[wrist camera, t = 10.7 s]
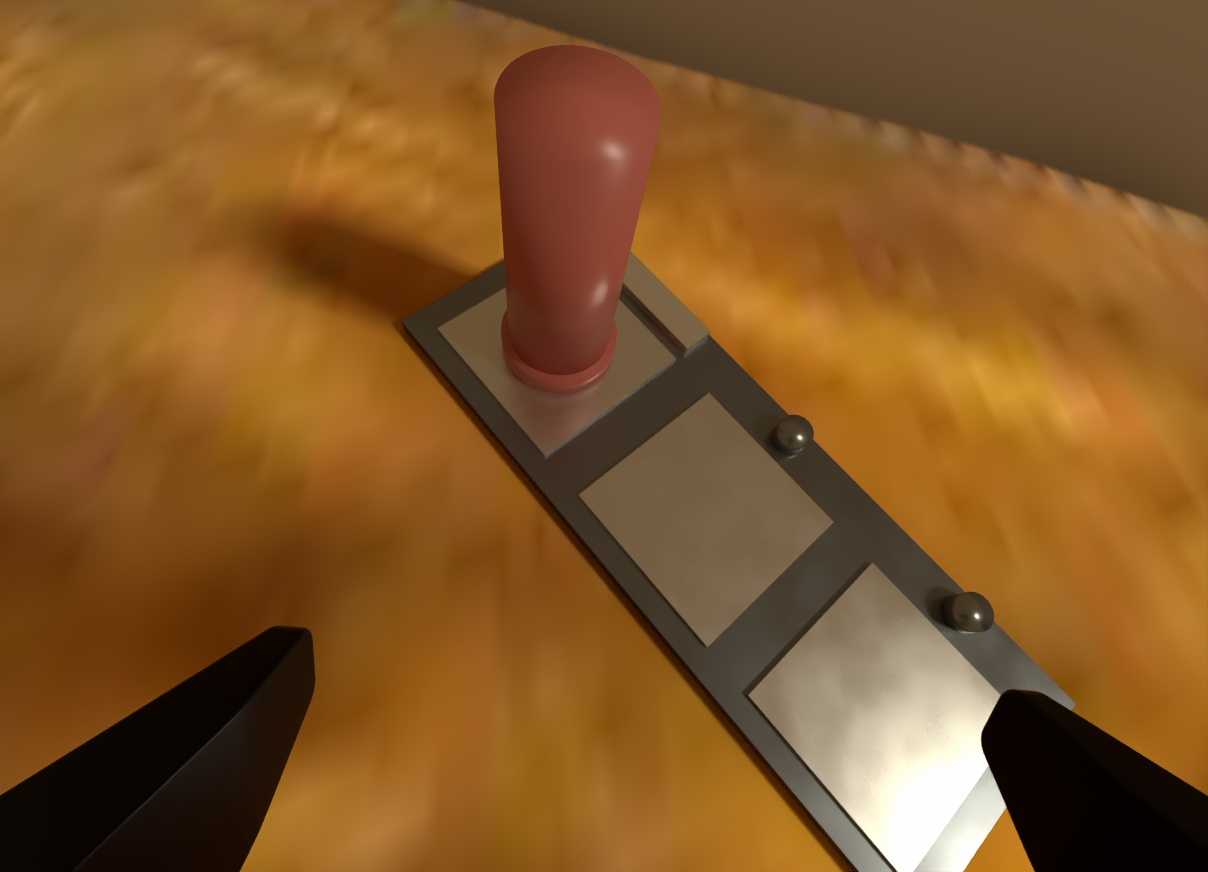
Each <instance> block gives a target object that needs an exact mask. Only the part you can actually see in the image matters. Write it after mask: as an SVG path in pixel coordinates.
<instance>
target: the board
mask: <svg viewBox="0 0 1208 872" xmlns="http://www.w3.org/2000/svg"><path fill="white" fill-rule="evenodd" d="M506 309H507V297H506V281H505V265H504V262H502V263H501V264H499V265H497V266H496V267H494V268H492V269H490V270H489V271H487V272H485V273H484V274H482V275H480V276H478V277H477V278H475V279H473V280H471V281H470V282H468V283H466V284H465V285H463V286H461V287H459V288H458V289H456V290H454V291H453V292H451V293H449V294H447V295H446V296H444V297H442V298H440V299H439V300H437V301H435V302H434V303H432V304H430V305H428V306H427V307H425V308H423V309H421V310H420V311H418V312H416V313H415V314H413V315H411V316H409V317H408V318H406V319H404V320H403V321H402V324H403V327H404V329H405V331H406V332H407V333H408V334H409V335H410V337H411V338H412V339H413V340H414V341H415V343H416V344H417V345H418V346H419V347H420V349H421V350H422V351H423V352H424V353H425V355H426V356H427V357H428V358H429V360H430V361H431V362H432V363H433V364H434V366H435V367H436V368H437V369H438V370H439V372H440V373H441V374H442V375H443V376H444V378H445V379H446V380H447V381H448V382H449V384H450V385H451V386H452V387H453V388H454V390H455V391H456V392H457V393H458V394H459V396H460V397H461V398H462V399H463V401H464V402H465V403H466V404H467V405H468V407H469V408H470V409H471V410H472V411H473V413H474V414H475V415H476V416H477V417H478V419H479V420H480V421H481V422H482V423H483V425H484V426H485V427H486V428H487V429H488V431H489V432H490V433H491V434H492V435H493V437H494V438H495V439H496V440H497V441H498V443H499V444H500V445H501V446H502V448H503V449H504V450H505V451H506V452H507V454H508V455H509V456H510V457H511V458H512V460H513V461H514V462H515V463H516V464H517V466H518V467H519V468H520V469H521V470H522V472H523V473H524V474H525V475H526V476H527V478H528V479H529V480H530V481H531V482H532V484H533V485H534V486H535V487H536V489H537V490H538V491H539V492H540V493H541V495H542V496H543V497H544V498H545V499H546V501H547V502H548V503H549V504H550V505H551V507H552V508H553V509H554V510H555V511H556V513H557V514H558V515H559V516H560V517H561V519H562V520H563V521H564V522H565V523H566V525H567V526H568V527H569V528H570V530H571V531H572V532H573V533H574V534H575V536H576V537H577V538H578V539H579V540H580V542H581V543H582V544H583V545H584V546H585V548H586V549H587V550H588V551H589V552H590V554H591V555H592V556H593V557H594V558H595V560H596V561H597V562H598V563H599V564H600V566H601V567H602V568H603V569H604V571H605V572H606V573H607V574H608V575H609V577H610V578H611V579H612V580H613V581H614V583H615V584H616V585H617V586H618V587H619V589H620V590H621V591H622V592H623V593H624V595H625V596H626V597H627V598H628V599H629V601H630V602H631V603H632V604H633V605H634V607H635V608H636V609H637V610H638V611H639V613H640V614H641V615H642V616H643V618H644V619H645V620H646V621H647V622H648V624H649V625H650V626H651V627H652V628H653V630H654V631H655V632H656V633H657V634H658V636H659V637H660V638H661V639H662V640H663V642H664V643H665V644H666V645H667V646H668V648H669V649H670V650H671V651H672V652H673V654H674V655H675V656H676V657H677V659H678V660H679V661H680V662H681V663H682V665H683V666H684V667H685V668H686V669H687V671H688V672H689V673H690V674H691V675H692V677H693V678H694V679H695V680H696V681H697V683H698V684H699V685H700V686H701V687H702V689H703V690H704V691H705V692H706V693H707V695H708V696H709V697H710V698H711V700H712V701H713V702H714V703H715V704H716V706H717V707H718V708H719V709H720V710H721V712H722V713H723V714H724V715H725V716H726V718H727V719H728V720H729V721H730V722H731V724H732V725H733V726H734V727H735V728H736V730H737V731H738V732H739V733H740V734H741V736H742V737H743V738H744V739H745V741H746V742H747V743H748V744H749V745H750V747H751V748H752V749H753V750H754V751H755V753H756V754H757V755H758V756H759V757H760V759H761V760H762V761H763V762H764V763H765V765H766V766H767V767H768V768H769V769H770V771H771V772H772V773H773V774H774V775H775V777H776V778H777V779H778V780H779V781H780V783H781V784H782V785H783V786H784V788H785V789H786V790H787V791H788V792H789V794H790V795H791V796H792V797H793V798H794V800H795V801H796V802H797V803H798V804H799V806H800V807H801V808H802V809H803V810H804V812H805V813H806V814H807V815H808V816H809V818H810V819H811V820H812V821H813V822H814V824H815V825H816V826H817V827H818V829H819V830H820V831H821V832H822V833H823V835H824V836H825V837H826V838H827V839H828V841H829V842H830V843H831V844H832V845H833V847H834V848H835V849H836V850H837V851H838V853H839V854H840V855H841V856H842V857H843V859H844V860H845V861H846V862H847V863H848V865H849V866H850V867H851V868H852V870H853V871H854V872H963V870H964V869H965V867H966V866H967V864H968V863H969V861H970V860H971V858H972V857H973V855H974V854H975V852H976V851H977V849H978V848H979V846H980V845H981V843H982V842H983V841H984V839H985V838H986V836H987V835H988V833H989V832H990V830H991V829H992V827H993V826H994V824H995V823H996V821H997V820H998V818H999V817H1000V815H1001V814H1002V812H1003V811H1004V809H1005V808H1006V805H1005V803H1004V800H1003V798H1002V796H1001V793H1000V791H999V789H998V786H997V784H996V782H995V779H994V777H993V775H992V772H991V770H990V768H989V765H988V763H987V761H986V759H985V756H984V754H983V751H982V747H981V732H982V730H983V728H984V726H985V724H986V722H987V720H988V718H989V716H990V714H991V712H992V710H993V709H994V707H995V705H996V703H997V701H998V699H999V697H1000V696H1001V694H1002V693H1003V692H1005V691H1006V690H1009V689H1019V690H1031V691H1037V692H1040V693H1043V694H1045V695H1047V696H1048V697H1050V698H1052V699H1053V700H1055V701H1056V702H1058V703H1060V704H1061V705H1063V706H1064V707H1066V708H1068V709H1069V710H1072V708H1073V707H1074V705H1075V703H1074V702H1073V701H1072V700H1071V699H1070V698H1069V697H1068V695H1067V694H1066V693H1065V692H1064V691H1063V690H1062V689H1061V688H1060V687H1059V686H1058V685H1057V684H1056V683H1055V682H1054V681H1053V680H1052V679H1051V678H1050V677H1049V676H1048V675H1047V674H1046V673H1045V672H1044V671H1043V670H1042V669H1041V668H1040V667H1039V666H1038V665H1037V664H1036V663H1035V662H1034V661H1033V660H1032V659H1031V658H1030V657H1029V656H1028V655H1027V654H1026V653H1025V652H1024V651H1023V650H1022V649H1021V648H1020V647H1019V646H1018V645H1017V644H1016V643H1015V642H1014V641H1013V640H1012V639H1011V638H1010V637H1009V636H1008V635H1007V634H1006V633H1005V632H1004V631H1003V630H1002V629H1001V628H1000V627H999V626H998V625H997V624H996V623H995V622H994V612H993V609H992V607H991V605H990V603H989V602H988V601H987V599H986V598H984V597H983V596H982V595H980V594H978V593H975V592H964V591H963V590H962V589H961V588H960V587H959V586H958V585H957V584H956V583H955V582H954V581H953V580H952V579H951V578H950V577H949V576H948V575H947V574H946V573H945V572H944V571H943V570H942V569H941V568H940V567H939V566H938V565H937V564H936V563H935V562H934V561H933V560H932V559H931V558H930V557H929V556H928V555H927V554H926V553H925V552H924V551H923V550H922V549H921V548H920V547H919V546H918V545H917V544H916V543H915V542H914V541H913V540H912V539H911V538H910V537H909V536H908V535H907V534H906V533H905V532H904V531H903V530H902V529H901V528H900V527H899V526H898V524H897V523H896V522H895V521H894V520H893V519H892V518H891V517H890V516H889V515H888V514H887V513H886V512H885V511H884V510H883V509H882V508H881V507H880V506H879V505H878V504H877V503H876V502H875V501H874V500H873V499H872V498H871V497H870V496H869V495H868V494H867V493H866V492H865V491H864V490H863V489H862V488H861V487H860V486H859V485H858V484H857V483H856V482H855V481H854V480H853V479H852V478H851V477H850V476H849V475H848V474H847V473H846V472H845V471H844V470H843V469H842V468H841V467H840V466H839V465H838V464H837V463H836V462H835V461H834V460H833V459H832V458H831V457H830V456H829V455H828V454H827V453H826V452H825V451H824V450H823V449H822V448H821V447H820V446H819V445H818V444H817V443H816V442H815V441H814V440H813V436H814V432H813V428H812V426H811V424H810V423H809V422H808V421H807V420H806V419H805V418H803V417H801V416H799V415H788V414H787V413H786V412H785V411H784V410H783V409H782V408H781V407H780V406H779V405H778V404H777V403H776V402H775V401H774V400H773V399H772V398H771V397H770V396H769V395H768V394H767V393H766V392H765V391H764V390H763V389H762V388H761V387H760V386H759V385H758V384H757V383H756V382H755V381H754V380H753V379H752V378H751V377H750V376H749V375H748V374H747V373H746V372H745V371H744V370H743V369H742V368H741V367H740V366H739V365H738V364H737V363H736V362H735V361H734V360H733V359H732V358H731V357H730V356H729V355H728V353H727V352H726V351H725V350H724V349H723V348H722V347H721V346H720V345H719V344H718V343H717V342H716V341H715V340H714V339H713V338H712V337H711V336H710V335H709V334H710V331H709V330H708V329H707V328H706V327H705V326H704V325H703V324H702V323H701V322H700V321H699V319H698V318H697V317H696V316H695V315H694V314H693V313H692V312H691V311H690V310H689V309H688V308H687V307H686V306H685V305H684V304H683V303H682V302H681V301H680V300H679V299H678V298H677V297H676V296H675V295H674V294H673V293H672V292H671V291H670V290H669V289H668V288H667V287H666V286H665V285H664V284H663V283H662V282H661V281H660V280H659V279H658V278H657V277H656V276H655V275H654V274H653V273H652V272H651V271H650V270H649V269H648V268H647V267H646V266H645V265H644V264H643V263H642V262H641V261H640V260H639V259H638V258H637V257H636V256H635V255H634V254H633V253H632V252H631V251H630V254H629V258H628V263H627V267H626V271H625V275H624V280H623V284H622V288H621V292H620V296H619V301H618V305H617V309H616V313H615V318H614V320H615V323H616V328H617V341H616V346H615V350H614V354H613V357H612V361H611V364H610V366H609V368H608V369H607V371H606V373H605V374H604V375H603V376H602V377H601V378H600V379H599V380H598V381H597V382H596V383H594V384H593V385H591V386H590V387H588V388H586V389H583V390H580V391H578V392H573V393H567V394H553V393H547V392H543V391H539V390H537V389H534V388H532V387H530V386H528V385H527V384H525V383H524V382H522V381H521V380H520V379H519V378H518V377H517V376H515V374H514V373H513V372H512V371H511V370H510V368H509V366H508V365H507V363H506V360H505V358H504V354H503V349H502V339H501V324H502V319H503V316H504V313H505V311H506Z"/></svg>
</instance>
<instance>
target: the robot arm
mask: <svg viewBox="0 0 1208 872" xmlns="http://www.w3.org/2000/svg"><path fill="white" fill-rule="evenodd" d="M314 687H315V668H314V653H313V639H312V634H311V632H310V631H309V630H308V629H306V628H302V627H290V626H274V627H271V628H269V629H267V630H265V631H264V632H262V633H261V634H259V635H257V636H256V637H254V638H253V639H251V640H249V641H248V642H246V643H245V644H243V645H241V646H240V647H238V648H237V649H235V650H233V651H232V652H230V653H228V654H227V655H225V656H224V657H222V658H220V659H219V660H217V661H216V662H214V663H212V664H211V665H209V666H208V667H206V668H204V669H203V670H201V671H200V672H198V673H196V674H195V675H193V676H192V677H190V678H188V679H187V680H185V681H183V682H182V683H180V684H179V685H177V686H175V687H174V688H172V689H171V690H169V691H167V692H166V693H164V694H163V695H161V696H159V697H158V698H156V699H155V700H153V701H151V702H150V703H148V704H146V705H145V706H143V707H142V708H140V709H138V710H137V711H135V712H134V713H132V714H130V715H129V716H127V717H126V718H124V719H122V720H121V721H119V722H118V723H116V724H114V725H113V726H111V727H109V728H108V729H106V730H105V731H103V732H101V733H100V734H98V735H97V736H95V737H93V738H92V739H90V740H89V741H87V742H85V743H84V744H82V745H81V746H79V747H77V748H76V749H74V750H73V751H71V752H69V753H68V754H66V755H64V756H63V757H61V758H60V759H58V760H56V761H55V762H53V763H52V764H50V765H48V766H47V767H45V768H44V769H42V770H40V771H39V772H37V773H36V774H34V775H32V776H31V777H29V778H27V779H26V780H24V781H23V782H21V783H19V784H18V785H16V786H15V787H13V788H11V789H10V790H8V791H7V792H5V793H3V794H2V795H0V872H240V870H241V868H242V866H243V864H244V862H245V860H246V858H247V856H248V854H249V852H250V850H251V847H252V845H253V843H254V841H255V839H256V837H257V835H258V833H259V831H260V828H261V826H262V823H263V821H264V818H265V816H266V814H267V811H268V809H269V806H270V804H271V801H272V799H273V796H274V794H275V791H276V788H277V786H278V783H279V781H280V778H281V776H282V773H283V771H284V768H285V765H286V763H287V760H288V758H289V755H290V753H291V750H292V748H293V745H294V743H295V740H296V737H297V735H298V732H299V730H300V727H301V725H302V722H303V720H304V717H305V714H306V712H307V709H308V707H309V704H310V702H311V699H312V696H313V692H314ZM981 747H982V751H983V754H984V756H985V759H986V761H987V763H988V765H989V768H990V770H991V772H992V775H993V777H994V779H995V782H996V784H997V786H998V789H999V791H1000V793H1001V796H1002V798H1003V800H1004V803H1005V805H1006V807H1007V810H1008V812H1009V814H1010V817H1011V819H1012V821H1013V823H1014V826H1015V828H1016V830H1017V833H1018V835H1019V837H1020V840H1021V842H1022V844H1023V847H1024V849H1025V851H1026V854H1027V856H1028V858H1029V860H1030V863H1031V865H1032V867H1033V869H1034V871H1035V872H1208V796H1207V795H1205V794H1204V793H1202V792H1200V791H1199V790H1197V789H1196V788H1194V787H1192V786H1191V785H1189V784H1188V783H1186V782H1184V781H1183V780H1181V779H1180V778H1178V777H1176V776H1175V775H1173V774H1172V773H1170V772H1168V771H1167V770H1165V769H1164V768H1162V767H1160V766H1159V765H1157V764H1156V763H1154V762H1152V761H1151V760H1149V759H1148V758H1146V757H1144V756H1143V755H1141V754H1140V753H1138V752H1136V751H1135V750H1133V749H1132V748H1130V747H1128V746H1127V745H1125V744H1124V743H1122V742H1120V741H1119V740H1117V739H1116V738H1114V737H1112V736H1111V735H1109V734H1108V733H1106V732H1104V731H1103V730H1101V729H1100V728H1098V727H1096V726H1095V725H1093V724H1092V723H1090V722H1088V721H1087V720H1085V719H1084V718H1082V717H1080V716H1079V715H1077V714H1076V713H1074V712H1072V711H1071V710H1069V709H1068V708H1066V707H1064V706H1063V705H1061V704H1060V703H1058V702H1056V701H1055V700H1053V699H1052V698H1050V697H1048V696H1047V695H1045V694H1043V693H1040V692H1037V691H1031V690H1019V689H1009V690H1006V691H1005V692H1003V693H1002V694H1001V696H1000V697H999V699H998V701H997V703H996V705H995V707H994V709H993V710H992V712H991V714H990V716H989V718H988V720H987V722H986V724H985V726H984V728H983V730H982V732H981Z"/></svg>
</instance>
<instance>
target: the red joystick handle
mask: <svg viewBox="0 0 1208 872" xmlns="http://www.w3.org/2000/svg"><path fill="white" fill-rule="evenodd" d="M494 105H495V121H496V137H497V153H498V169H499V185H500V201H501V217H502V233H503V249H504V265H505V281H506V297H507V309H506V311H505V313H504V316H503V319H502V324H501V339H502V349H503V354H504V358H505V360H506V363H507V365H508V366H509V368H510V370H511V371H512V372H513V373H514V374H515V376H517V377H518V378H519V379H520V380H521V381H522V382H524V383H525V384H527V385H528V386H530V387H532V388H534V389H537V390H539V391H543V392H547V393H553V394H567V393H573V392H578V391H580V390H583V389H586V388H588V387H590V386H591V385H593V384H594V383H596V382H597V381H598V380H599V379H600V378H601V377H602V376H603V375H604V374H605V373H606V371H607V369H608V368H609V366H610V364H611V361H612V357H613V354H614V350H615V346H616V341H617V328H616V323H615V320H614V318H615V313H616V309H617V305H618V301H619V296H620V292H621V288H622V284H623V280H624V275H625V271H626V267H627V263H628V258H629V254H630V250H631V246H632V241H633V237H634V233H635V229H636V224H637V220H638V216H639V212H640V207H641V203H642V199H643V195H644V190H645V186H646V182H647V178H648V173H649V169H650V165H651V161H652V156H653V152H654V148H655V144H656V139H657V135H658V131H659V127H660V122H661V114H662V112H661V104H660V100H659V97H658V95H657V92H656V90H655V89H654V87H653V85H652V84H651V82H650V81H649V80H648V79H647V78H646V76H644V75H643V74H642V73H641V72H640V71H639V70H638V69H637V68H635V67H634V66H633V65H631V64H630V63H628V62H626V61H625V60H623V59H621V58H619V57H617V56H615V55H613V54H610V53H608V52H605V51H602V50H598V49H594V48H589V47H584V46H575V45H560V46H550V47H545V48H541V49H537V50H534V51H531V52H529V53H526V54H524V55H522V56H521V57H519V58H517V59H516V60H514V61H513V62H512V63H510V64H509V65H508V66H507V67H506V68H505V69H504V71H503V72H502V74H501V75H500V77H499V79H498V81H497V83H496V87H495V92H494Z"/></svg>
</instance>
